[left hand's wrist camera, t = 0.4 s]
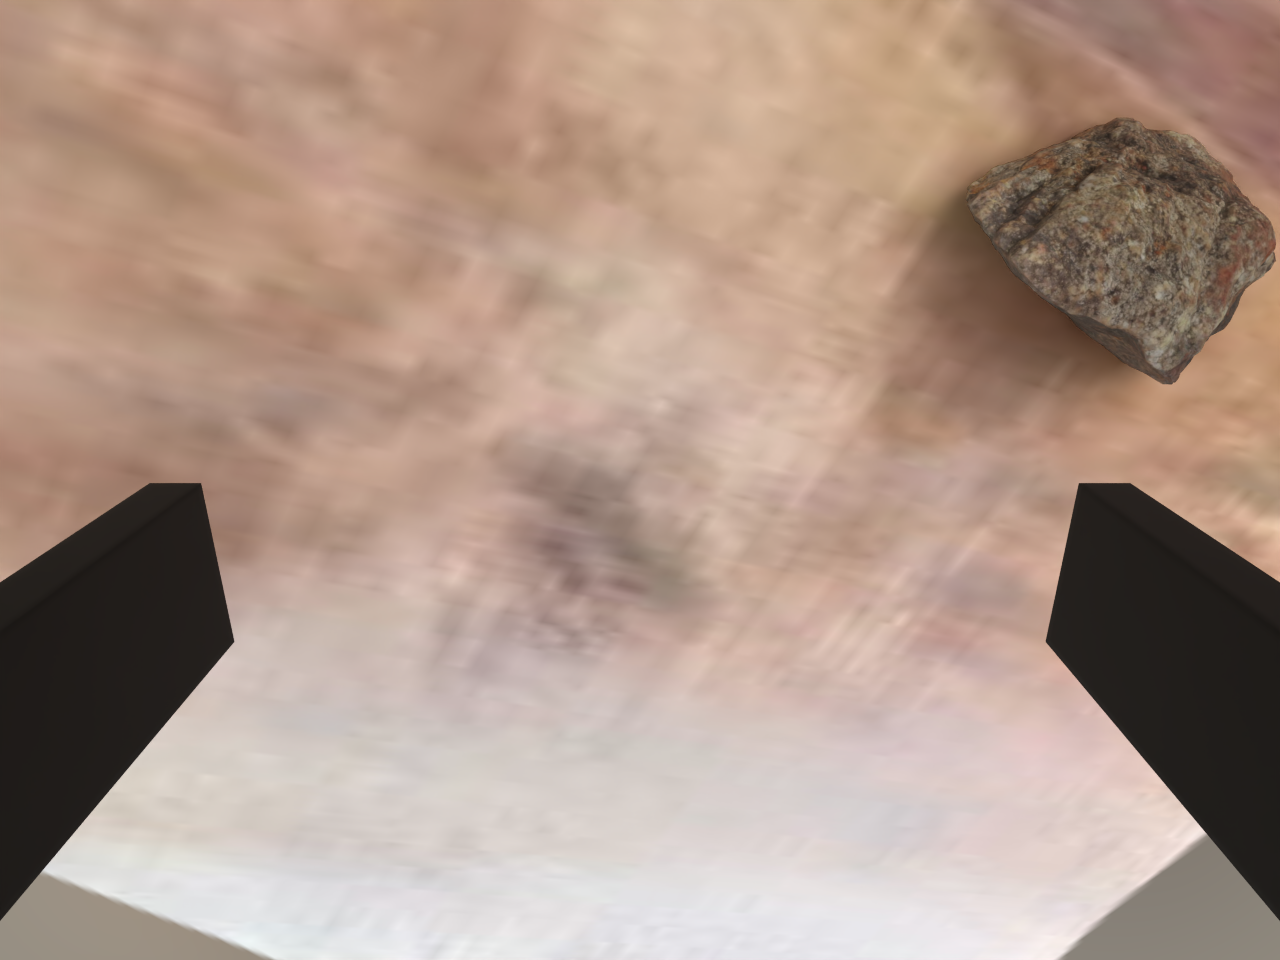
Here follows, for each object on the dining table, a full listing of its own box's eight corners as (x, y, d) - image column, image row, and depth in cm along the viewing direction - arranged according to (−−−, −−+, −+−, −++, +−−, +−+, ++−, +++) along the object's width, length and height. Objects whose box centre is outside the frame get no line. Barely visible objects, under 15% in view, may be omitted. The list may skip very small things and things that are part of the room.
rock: (1099, 412, 42) (1268, 259, 39) (1220, 481, 34) (1442, 295, 31) (913, 217, 37) (1089, 30, 34) (1002, 244, 29) (1239, 3, 27)
